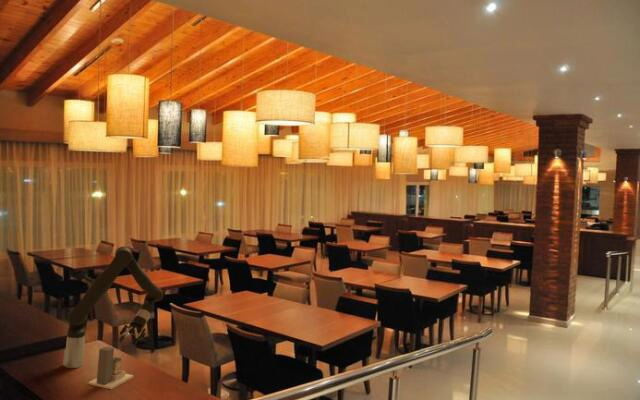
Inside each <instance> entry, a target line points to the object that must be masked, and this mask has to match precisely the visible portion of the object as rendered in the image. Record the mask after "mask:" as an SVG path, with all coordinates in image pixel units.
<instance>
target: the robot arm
mask: <svg viewBox="0 0 640 400" xmlns="http://www.w3.org/2000/svg"><path fill="white" fill-rule="evenodd" d="M125 268H126V269H127V270H128V271H129V273H130V274H131V276H132V277H133V279H134V282H136V284H137V285H138V286H139V287H140V289H141V290H142V291H144V292H147V293H146V295H145V296H144V300H143V303H142V305H141V307H140V308H139V310H138V311H137V313H136V314H135V316H134V317H133V320H132V321H131V322H130V325H127V324H124V326H123V327H122V329H121V330H120V332H119V334H120V338H119V339H118V343H120V344H122V343H123V342H124V340H125V339H126V337H128V336H130V335H131V336H135V338H134V340H133V341H132V343H131V345H132V346H133V347H135V346H136V345H137V344H138V342H139V341H142V340H144V337H145V336H146V334H147V329H146V328H145V326H146V325H147V324H148V321H149V320H150V318H151V315H152V313H153V311H154V310H155V305H154V303H156V302H159V301H162V300H163V299H164V292H163V290H162V288H160V287H159V286H158V285H157V284H155V283H154V282H153V281H152V280H151V278H150V277H149V276H148V274H146V272H145V271H144V270H143V269H142V268H141V266H140V265H139V263H138V262H137V260H136V259H135V257H134V255H133V253H132V250H131V249H130V248H129V247H127V246H120V247H118V248H117V249H116V250H115V252H114V258H113V259H112V261H111V262H110V264H109V265H108V266H107V268H106V269H105V270H103V271H102V272H101V273H100V274H99V275H98V276H96V278H95V279H94V280H93V282H92V283H91V284H90V286H89V288H88V289H87V291H86V292H85V293H84V295H83V297H82V298H81V299H80V301H79V302H78V303H77V305H76V306H75V307H74V308H72V309H71V311H69V313H68V315H67V323H68V324H69V325H68V329H67V334H66V345H65V348H64V350H63V362H62V366H63V367H64V368H67V369H77V368H80V367H82V366H83V361H84V349H85V339H86V330H87V327H88V326H87V325H88V315H89V313H90V312H91V310H92V309H93V307H94V306H96V304H97V303H99V301H100V300H101V299H102V298H103V297H104V296H105V294H106V293H107V292H108V291H109V290H110V288H112V287H111V286H112V285H113V283H114V282H115V281H116V279H117V278H118V276H119V275H120V274H121V272H122V271H123V270H124V269H125Z"/></svg>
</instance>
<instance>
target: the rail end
mask: <svg viewBox="0 0 640 400" xmlns="http://www.w3.org/2000/svg"><path fill="white" fill-rule="evenodd" d="M121 363H122V358H120V357H116V356H115V357H114V356H113V365H112V375H114V376H116V375H118V374H120V371H121V365H122V364H121Z"/></svg>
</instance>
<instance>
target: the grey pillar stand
mask: <svg viewBox="0 0 640 400" xmlns="http://www.w3.org/2000/svg"><path fill="white" fill-rule="evenodd" d="M114 351H115V348H114V347H111V346H104V347H101V348H99V351H98V363H97V373H96V377H95V378H94V379H92V380H90V381H88V385H90V386H95V387H100V388H104V389H108V390H112V389H115V388H116V387H118V386H120V385H121V384H123V383H125V382H128V381H129V380H131V379H133V378H134V375H133V374H129V373H126V371H124V370H120V374H118V375H116V376H114V375H112V365H113V358H114Z"/></svg>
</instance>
